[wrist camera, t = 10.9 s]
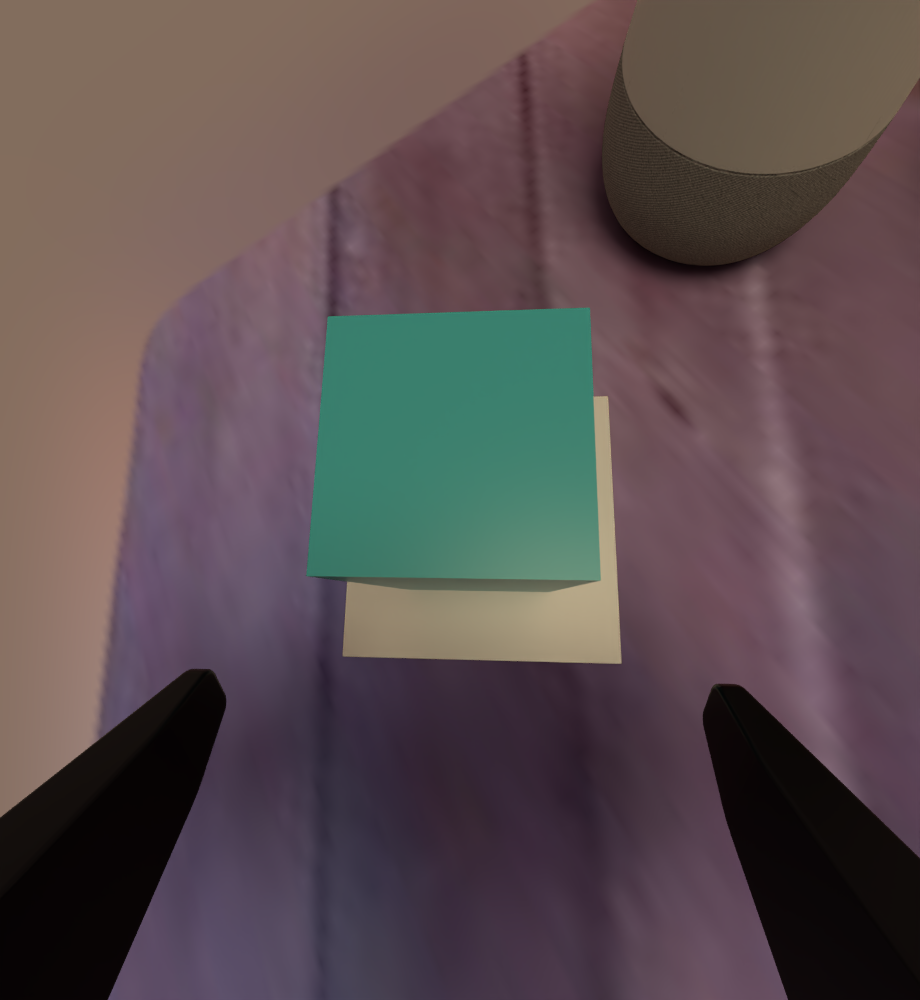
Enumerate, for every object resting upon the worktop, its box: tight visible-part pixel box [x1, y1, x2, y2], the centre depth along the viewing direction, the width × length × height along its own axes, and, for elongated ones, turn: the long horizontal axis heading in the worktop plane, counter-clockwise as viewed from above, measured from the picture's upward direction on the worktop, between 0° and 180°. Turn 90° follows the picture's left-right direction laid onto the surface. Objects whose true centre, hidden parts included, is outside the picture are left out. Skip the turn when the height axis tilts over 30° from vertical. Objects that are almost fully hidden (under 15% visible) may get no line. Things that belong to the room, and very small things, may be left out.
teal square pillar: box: [306, 308, 601, 592], centre depth 14 cm, size 5×5×10 cm
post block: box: [343, 396, 621, 664], centre depth 17 cm, size 10×10×5 cm
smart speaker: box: [602, 0, 920, 266], centre depth 15 cm, size 10×9×14 cm
